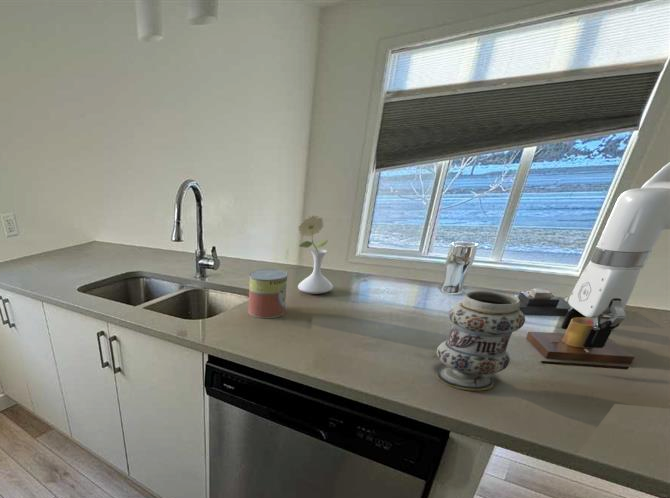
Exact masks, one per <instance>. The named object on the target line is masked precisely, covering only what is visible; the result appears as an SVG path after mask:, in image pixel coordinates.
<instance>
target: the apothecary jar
mask: <svg viewBox="0 0 670 498" xmlns="http://www.w3.org/2000/svg"><path fill="white" fill-rule="evenodd" d="M515 296H516V295H512V294H509V293H503V292H499V291H491V290H474V291H473V290H472V291H469V292H467V293H466V294H465V295H464V298H463V300H462V301H460V302H458V303H456V304H455V305H453V306H452V307H451V308H450V310H449V311H448V318H449V320H450V322H452V326H451V329H450V332H449V335H448V337H447V339H446V340H445V341H443V342H441V343H440V344H439V345H438V347H437V348H436V356H437V358H438V359H439V361H440V362H441V363H442V364H443V365H444V366H446V367H443V368H440V369H439V370H438V371H436V375H435V376H436V378H437V379H438V380H439V381H440V382H441V383H443V384H444V385H446V386H449V387H452V388H455V389H458V390H462V391H463V390H464V391H470V392H481V391H482V392H483V391H487V390H490V389H492V388H493V387H494V384H495V383H494V380H493V379H492V378H491V376H489V375H493V374H497V373H499V372H502V371H503V370H505V369H506V368H507V367H508V366H509V365H510V363H511V356H510V354H509V352H508V351H507V347H508V344H509V342H510V339H511V337H512V334H513V333H514V332H516V331H519V330H520V329H521V328H522V327H523V326H524V325H525V323H526V317H525V316H526V315H524V314H523V313H522V312H521V311H520V307H519V306H520V300H519V299H518V298H517V297H515Z"/></svg>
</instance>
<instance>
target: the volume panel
mask: <svg viewBox="0 0 670 498" xmlns="http://www.w3.org/2000/svg"><path fill="white" fill-rule="evenodd" d="M564 335H565V332H546V331H543V332H541V331H528V332H527V334H526V336H525V339H526V340H527V341H528V342H529V343H530V345H532V346H533V348H534V349H535V350H536V351H538V352H539V354H541V356H542V357H543V358H544V359H547V360H540V362H541V364H543V365H557V366H570V367H585V368H600V369H613V370H615V369H616V370H629V369H630V366H625V365H632V363H633V361H634V360H635V358H636V357H635V356H634V354H632V353H630V352H629V351H628V350H626V349H625V348H623V347H622V346H621V345H620V344H618V343H617V342H616V341H614V340H612V339H611V338H610V337H608V339H607V341H606V343H605V345H604V347H603V348H580V347H574V346H570V345H567V344H565V343H564V342H562V339H563V337H564ZM550 360H552V361H550ZM553 360H561V361H553ZM566 361H575V362H566ZM581 362H590V363H581ZM595 363H597V364H595ZM598 363H605V364H598ZM606 363H608V364H606ZM609 364H619V365H609ZM620 364H621V365H620Z"/></svg>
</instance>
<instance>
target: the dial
mask: <svg viewBox="0 0 670 498" xmlns="http://www.w3.org/2000/svg"><path fill="white" fill-rule="evenodd" d="M603 322H604V321H602V320H601V323H603ZM590 328H593V329H594V318H593V317H592V318H588V317H576V318H572V319H571V321H570V324H569V326H568V328H567V329H565V332H564V333H565V335H564V337H563V339H562V342H564V343H565V344H567V345H570V346H574V347H580V348H591V347H584V346H583V342H584V340H585V338H586V336H587V334H588V332H589V330H590Z"/></svg>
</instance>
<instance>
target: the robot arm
mask: <svg viewBox="0 0 670 498" xmlns="http://www.w3.org/2000/svg"><path fill="white" fill-rule="evenodd" d="M664 230H670V161H669V162H668V163H666V164H665V165H664V166H663V167H661V169H660V170H658V171H657V172H656V173H655V174H653V176H652V177H651V178H649V179H648V180H647V181H645V183H643V185H642V186H641V187H637V188H631V189H628V190H626V191H624V192H622V193H620V195H619V196H618V198H617V200H616V202H615V204H614V207H613V208H612V211H611V213H610V216H609V217H608V220H607V222H606V225H605V227H604V229H603V231H602V233H601V235H600V238H599V240H598V242H597V244H596V247H595V249H594V251H593V253H592V256H591V257H590V260H589V262H588V264H587V265H586V266H585V268H584V269H583V271H582V273H581V275H580V276H579V278H578V280H577V282H576V283H575V285H574V288H573V289H572V292H571V294H570V296H569V298H568V300H567V302H568V303H569V305H570V306H569V307H568V311H571V312H567V315H566V316H564V318H563V321H562V324H561V326H560V328H561V329H562V330H567V328H568V326H569V324H570V321H571V319H572V318H576V317H585V318H592V319H594V329H593V328H590V330H589V332H588V334H587V336H586V338H585V340H584V342H583V346H584V347H591V348H603V347H604V345H605V343H606V341H607V339H608V338H610V335H611V333H612V332H614V331H615V330H616V328H618V327H619V326H620V325H621V323H622V322H623V321H624V320H625V319H627V314H626V312H625V308H626V307H627V304H628V302H629V300H630V298H631V295H632V293H633V290H634V288H635V286H636V283H637V280H638V277H639V274H640V270H642V269H643V268H644V267H645V266H646V265H645V264H646V263H647V261H648V259H649V257H650V255H651V254H652V252H653V249H654V248H655V246H656V243H657V242H658V241H659V240H658V239H659V238H660V236H661V235H662V232H663V231H664ZM602 320H605V321H602ZM601 321H602V322H603V323H601Z"/></svg>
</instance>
